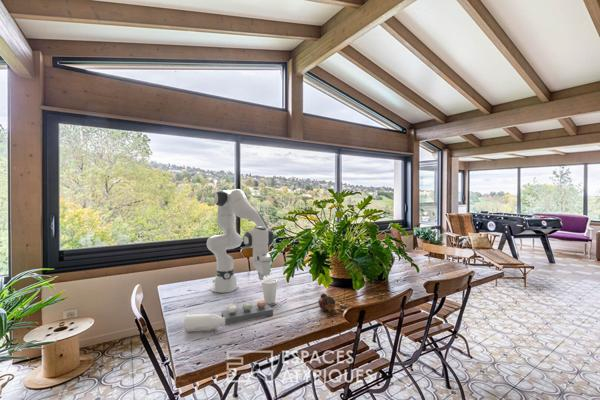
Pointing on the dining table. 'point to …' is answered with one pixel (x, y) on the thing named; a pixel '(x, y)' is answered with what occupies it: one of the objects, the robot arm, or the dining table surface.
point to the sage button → (247, 307)
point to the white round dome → (232, 309)
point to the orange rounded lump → (261, 304)
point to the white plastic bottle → (203, 322)
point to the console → (247, 314)
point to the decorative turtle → (326, 303)
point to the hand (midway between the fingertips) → (261, 279)
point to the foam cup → (269, 290)
